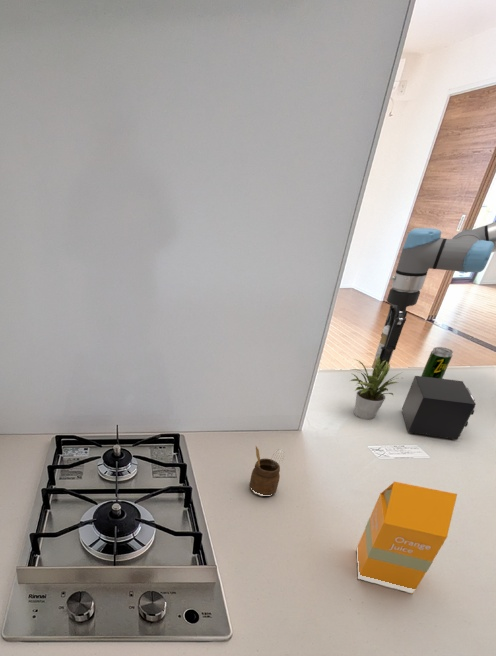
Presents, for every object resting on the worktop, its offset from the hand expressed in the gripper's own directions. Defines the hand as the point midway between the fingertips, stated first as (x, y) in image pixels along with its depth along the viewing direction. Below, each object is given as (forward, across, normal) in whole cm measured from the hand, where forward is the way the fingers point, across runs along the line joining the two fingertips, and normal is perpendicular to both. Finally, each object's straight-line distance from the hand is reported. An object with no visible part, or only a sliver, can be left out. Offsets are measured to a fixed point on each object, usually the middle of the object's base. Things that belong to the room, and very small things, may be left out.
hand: (380, 365), depth 137 cm
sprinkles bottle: (+1, 0, 0) cm, 1 cm away
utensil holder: (+5, +67, -28) cm, 73 cm away
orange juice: (+6, +83, -5) cm, 83 cm away
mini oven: (+6, +25, +11) cm, 28 cm away
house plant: (+6, +23, -5) cm, 24 cm away
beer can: (+6, 0, +15) cm, 16 cm away
